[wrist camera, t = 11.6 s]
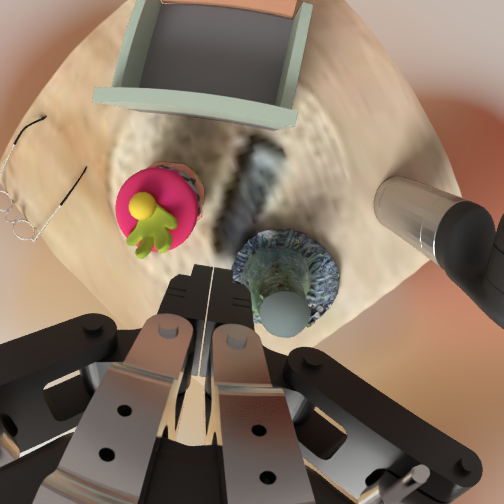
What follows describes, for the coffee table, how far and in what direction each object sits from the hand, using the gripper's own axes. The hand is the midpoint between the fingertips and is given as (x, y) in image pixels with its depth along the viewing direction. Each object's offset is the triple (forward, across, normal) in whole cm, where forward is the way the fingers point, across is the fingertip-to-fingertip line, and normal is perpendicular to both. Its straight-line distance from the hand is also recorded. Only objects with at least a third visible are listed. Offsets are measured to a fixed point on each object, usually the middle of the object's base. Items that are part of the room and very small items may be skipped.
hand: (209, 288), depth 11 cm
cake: (+33, +8, +4) cm, 34 cm away
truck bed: (+33, +5, -16) cm, 37 cm away
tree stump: (+33, -12, +16) cm, 39 cm away
